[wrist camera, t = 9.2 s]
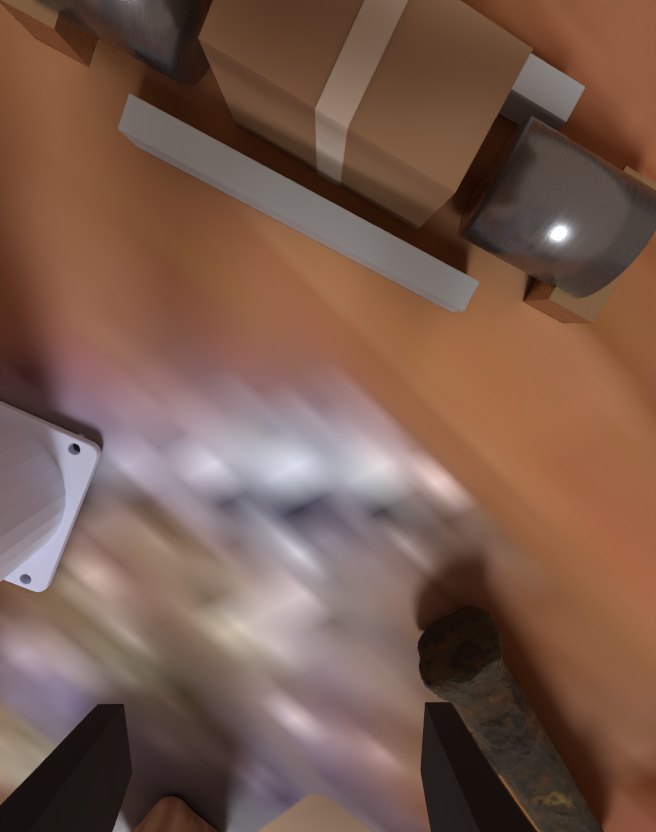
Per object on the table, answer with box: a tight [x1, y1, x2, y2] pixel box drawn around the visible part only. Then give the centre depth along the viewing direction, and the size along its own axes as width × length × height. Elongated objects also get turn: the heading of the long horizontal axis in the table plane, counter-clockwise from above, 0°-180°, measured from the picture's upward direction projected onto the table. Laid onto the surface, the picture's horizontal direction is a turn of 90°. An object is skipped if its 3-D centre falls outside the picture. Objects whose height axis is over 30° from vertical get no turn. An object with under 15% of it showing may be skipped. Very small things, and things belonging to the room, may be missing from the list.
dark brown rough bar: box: [418, 606, 604, 832], centre depth 20 cm, size 19×4×5 cm, turn 29°
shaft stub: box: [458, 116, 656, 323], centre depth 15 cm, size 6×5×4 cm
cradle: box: [118, 54, 585, 312], centre depth 15 cm, size 14×8×2 cm, turn 64°
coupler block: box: [198, 0, 533, 231], centre depth 13 cm, size 4×8×5 cm, turn 62°
